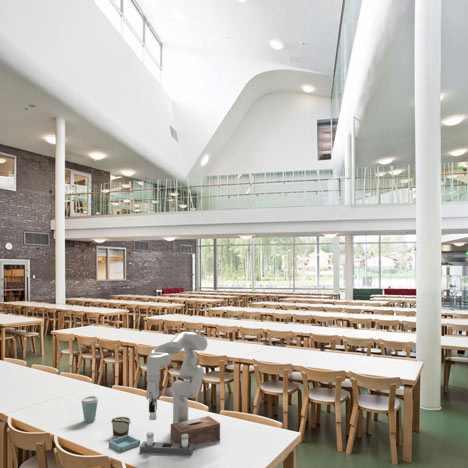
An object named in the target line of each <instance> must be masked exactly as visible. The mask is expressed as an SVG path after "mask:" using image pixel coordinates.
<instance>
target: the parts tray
mask: <svg viewBox="0 0 468 468" xmlns="http://www.w3.org/2000/svg"><path fill="white" fill-rule="evenodd" d="M140 446H141V440H140V439H138V438H135V437H134V436H132V435H130V434H128V435H125V436H122V437H117V438H114V439H111V440H109V441H108V448H113V449H114V450H116V451H118V452H120V453H122V452H125V451H128V450H131V449H133V448H137V447H140Z"/></svg>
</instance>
